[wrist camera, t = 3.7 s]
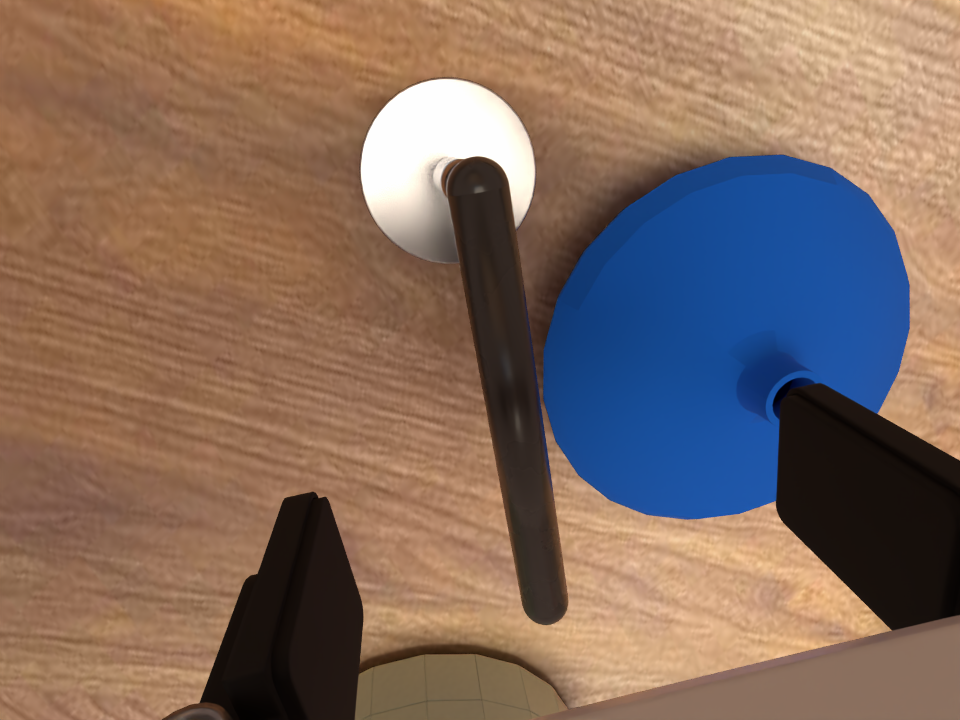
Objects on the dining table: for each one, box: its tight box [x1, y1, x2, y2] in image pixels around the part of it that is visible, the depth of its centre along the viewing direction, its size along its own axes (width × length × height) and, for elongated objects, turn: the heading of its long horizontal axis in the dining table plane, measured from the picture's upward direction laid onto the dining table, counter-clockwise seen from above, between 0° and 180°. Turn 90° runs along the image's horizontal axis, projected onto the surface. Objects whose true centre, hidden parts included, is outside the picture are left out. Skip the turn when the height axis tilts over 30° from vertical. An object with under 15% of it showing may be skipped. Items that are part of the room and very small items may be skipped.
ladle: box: [359, 77, 568, 625], centre depth 18 cm, size 16×6×11 cm, turn 10°
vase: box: [543, 155, 910, 520], centre depth 22 cm, size 16×16×7 cm
